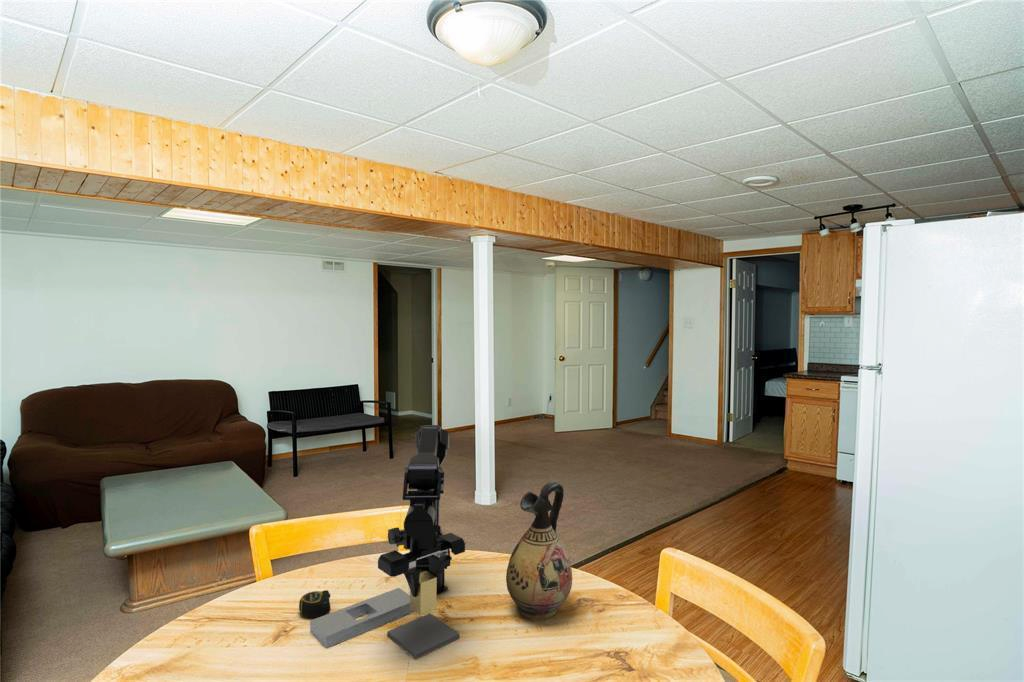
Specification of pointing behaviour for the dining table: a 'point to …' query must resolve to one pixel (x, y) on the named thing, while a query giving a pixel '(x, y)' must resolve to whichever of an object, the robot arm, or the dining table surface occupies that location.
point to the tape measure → (315, 603)
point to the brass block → (424, 594)
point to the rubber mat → (423, 635)
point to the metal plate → (345, 626)
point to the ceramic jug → (540, 559)
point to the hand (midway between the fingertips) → (423, 592)
